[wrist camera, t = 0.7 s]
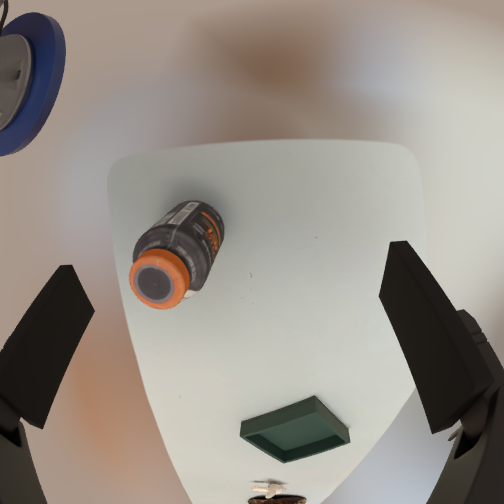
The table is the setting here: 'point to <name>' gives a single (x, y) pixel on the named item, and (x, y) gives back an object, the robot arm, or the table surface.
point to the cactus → (279, 501)
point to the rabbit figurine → (269, 489)
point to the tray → (296, 431)
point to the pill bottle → (176, 255)
